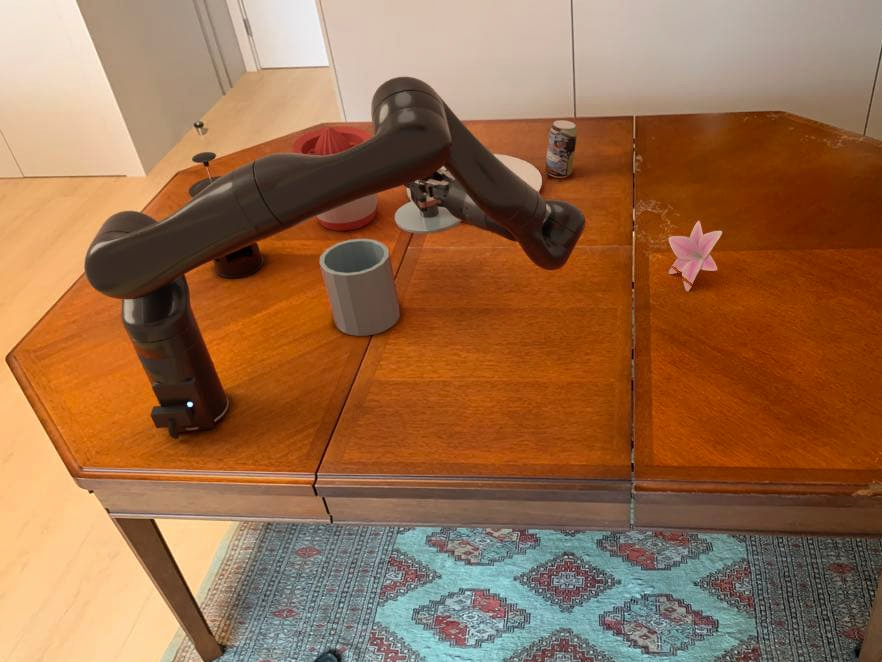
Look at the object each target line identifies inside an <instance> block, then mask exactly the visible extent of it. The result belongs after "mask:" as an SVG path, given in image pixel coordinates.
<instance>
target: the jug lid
mask: <svg viewBox="0 0 882 662" xmlns="http://www.w3.org/2000/svg"><path fill="white" fill-rule="evenodd" d="M429 179H432V180H435V179H434V173H433V174H431V175H429V176H427V177H425V178H422V179H421V180H425V181H428V180H429ZM423 190H425V187H424V186H423ZM425 191H426V190H425ZM427 209H428V210H427V211H426V212H421V211H420V210H419V208H418V207H417V206H416V205H415V203H414V202H413V201H408V202H406V203H405V204H403V205H402V206H400V207H399V208H398V209H397V210H396V211H395V214H394V221H395V224H396V226H397V227H398V228H399V229H401V230H403V231H405V232H408V233H412V234H418V235H420V234H421V235H428V234H437V233H441V232H445V231H447V230H451V229H452V228H454V227H457V226H458V225H459V224H460V223H461V222H462V220H460V219H458V218H456V217H454V216H453V215H452V214H451V213H450V212H449V211H448V210H447V209H446V208H444V207H438V206H436V205H431V206H428V207H427Z"/></svg>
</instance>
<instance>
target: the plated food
mask: <svg viewBox="0 0 882 662" xmlns="http://www.w3.org/2000/svg"><path fill="white" fill-rule="evenodd" d="M492 154H493V155H494V156H495V157H496V158H498V159H499V160H500V161H501V162H502V163H503V164H504V165H505V166H507V167H508V168H509V169H510V170H511V171H513V172H514V173H515V174H516V175H518V176H519V177H520V178H521V179H522V180H524V181H525V182H526V183H527V184H529V185H530V186H531V187H532V188H534V189H535V190H536V191H537V192H539V193H540V191H541V188H542V186H543V177H542V175H541V172H540V171H539V170H538V168H537V167H536V166H535V165H533V164H532V163H529V162H528V161H526V160H524V159H522V158H518V157H514V156H510V155H506V154H500V153H492ZM441 169H443V170H446V168H445V167H444V166H443V167H442V168H441ZM406 194H407V198H408V199H409V202H411V201H412V199H411V192H410V189H409V188H407V187H406Z"/></svg>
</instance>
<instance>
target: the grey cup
mask: <svg viewBox="0 0 882 662" xmlns="http://www.w3.org/2000/svg"><path fill="white" fill-rule="evenodd" d="M392 264H393V263H392V260H391V254H390V249H389V248H388V247H387V246H386V244H384V243H383V242H381V241H378V240H376V239H372V238H354V239H347V240H344V241H340V242H337V243H335V244H334V245H331V246H330V247H328V248H326V249H325V250H324V252H323V253H322V254H321V255H320V257H319V268H320V271H321V274H322V279H323V284H324V287H325V290H326V295H327V299H328V303H329V306H330V311H331V315H332V318H333V322H334V324H335V326H336V328H337V329H338V330H339V331H340V332H342V333H345V334H346V335H349V336H355V337H356V336H357V337H366V336H373V335H376V334H377V335H378V334H380V333H383V332H384V331H386V330H389V329H390V328H391V327H393V326H394V325H395V324H396V323H397V322H398V320H399V319H400V316H401V310H400V309H401V307H400V302H399V297H398V291H397V287H396V285H397V284H396V281H395V275H394V270H393V265H392Z"/></svg>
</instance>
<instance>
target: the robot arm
mask: <svg viewBox="0 0 882 662" xmlns="http://www.w3.org/2000/svg"><path fill="white" fill-rule="evenodd" d="M370 115H371V123H372V128H373V133H374V135H373V137H371V139H369V140H367V141H365V142H363V143H361V144H359V145H357V146H355V147H352V148H350V149H348V150H345V151H343V152H340V153H337V154H332V155H324V156H319V155H307V154H297V153H294V152H275V153H271V154H270V153H269V154H267V155H264V156H261V157H258V158H257V159H254V160H251V161H250V162H247V163H245V164H243V165H240V166H239V167H237V168H234V169H233V170H230V171H229V172H227V173H225V174H223V175H221V176H222V177H220V178H219V179H217V180H216V181H214V182H213V183H211V184H210V185H209V186H207V187H206V188H205V189H203V190H202V191H201V192H200V193H199V194H197V195H196V196H195V197H193V198H192V197H191V199H190V200H188V201H187V202H186V203H185V204H184V205H182V206H181V207H180V208H178V209H177V210H176V211H175V212H174V213H172V214H170V215H168V216H167V217H165V218H164V219H162V220H159V221H158V220H156V219H155V218H153V217H152V216H150V215H149V214H146V213H144V212H141V211H137V210H123V211H122V210H121V211H120V212H116V213H113V214H112V215H111V216H109V217H108V218H107V219H106V220H105V221H104V222H103V224H101V227H100V228H99V229H98V231H97V232H96V235H95V236H94V238H93V239H92V241H91V242H90V245H89V246H88V248H87V250H86V253H85V259H84V264H83V268H84V274H85V277H86V280H87V281H88V283H89V285H90V286H91V287H92V288H93V289H94V290H95V291H97V292H98V293H100V294H101V295H103V296H106V297H109V298H111V299H116V300H121V308H120V319H121V322H122V325H123V327H124V330H125V332H126V334H127V336H128V338H129V340H130V342H131V345H132V347H133V349H134V351H135V353H136V355H137V357H138V360H139V362H140V364H141V366H142V368H143V370H144V372H145V374H146V377H147V378H148V380H149V381H148V382H149V383H150V386H151V390H152V391H153V393H154V395H155V398H156V400H157V402H158V404H159V405H154V406H152V408H151V412H150V414H149V415H150V418H151V420H152V422H153V424H154V426H155V428H156V429H165V428H167V429H168V430H167V431H168V434H169V436H170V437H171V438H172V439H174V440H178V439H180V435H179V434H180V433H188V432H196V431H206V430H212V429H215V425H216V424H217V423H219V422H220V421H221V420H222V419H223V418H224V417H225V416H226V415H227V413H228V412H229V409H230V400H229V397H228V396H227V394H226V392H225V390H224V387H223V385H222V382H221V380H220V377H219V374H218V371H217V369H216V367H215V364H214V361H213V359H212V357H211V354H210V351H209V349H208V345H207V344H206V342H205V339H204V336H203V334H202V331H201V329H200V326H199V324H198V321H197V318H196V316H195V313H194V310H193V308H192V305H191V293H190V287H189V284H188V280H187V277H186V274H188V273H189V272H191V271H193V270H195V269H197V268H199V267H201V266H203V265H205V264H207V263H209V262H213V260H215V259H217V258H220V257H222V256H225V255H227V254H230V253H232V252H235V251H237V250H239V249H241V248H244V247H246V246H248V245H251V244H253V243H255V242H256V243H258V242H260V241H261V242H262V241H263V240H265V239H266V240H267V239H269V238H271V237H273V236H275V235H277V234H280V233H283V232H285V231H287V230H289V229H292V228H294V227H296V226H298V225H300V224H302V223H304V222H306V221H308V220H310V219H313V218H315V217H316V216H318V215H320V214H323V213H325V212H327V211H330V210H332V209H335V208H337V207H340V206H343V205H345V204H347V203H350V202H353V201H355V200H358V199H361V198H363V197H366V196H370V195H373V194H376V193H378V194H379V193H382V192H386V191H389V190H392V189H396V188H398V187H402V186H404V187H405V188H406V189H407V188H409V189H410V192H411V199H412V201H413V202H414V203H415V205H416V206H417V207H418V208H419V210H420V211H421V212H426V211H427V210H428V209H427V207H428V206H431V205H436V206H438V207H444V208H446V209H447V210H448V211H449V212H450V213H451V214H452V215H453V216H454V217H456V218H458V219H460V220H462V221H463V222H465V223H467V224H468V225H471V226H473V227H476V228H478V229H480V230H483V231H486V232H490V233H493V234H495V235H497V236H500V237H502V238H504V239H506V240H507V241H508V240H509V241H511V242H515V243H516V242H517V243H518V244H519V246H520V248H521V250H522V251H523V252H524V254H525V255H526V256H527V258H529V260H530V261H531V262H533V264H535V266H537V267H538V268H541V269H543V270H545V271H557V270H560V269H561V268H563V267H564V266H565V265H566V264H567V262H568V260H569V258H570V257H571V254H572V253H573V251H574V249H575V248H576V246H577V244H578V242H579V239H580V238H581V236H582V235H583V233H584V231H585V228H586V224H587V222H586V221H587V220H586V217H585V215H584V213H583V211H582V210H581V209H580V208H579V207H578V206H576V205H575V204H573V203H571V202H567V201H565V200H561V199H560V200H559V199H545V198H544V196H543V195H542V194H541V193H540V191H539V192H537V191H536V190H535V189H534V188H532V187H531V186H530V185H529V184H527V183H526V182H525V181H524V180H522V179H521V178H520V177H519V176H518V175H516V174H515V173H514V172H513V171H511V170H510V169H509V168H508V167H507V166H505V165H504V164H503V163H502V162H501V161H500V160H499V159H498V158H496V157H495V156H494V155H493V154H494V153H492V152H491V151H490V150H489V149H488V148H487V147H486V146H485V145H484V144H483V143H482V142H481V141H480V140H479V139H478V138H477V137H476V136H475V134H473V133H472V132H471V130H469V128H468V127H467V126H466V125H465V124H464V123H463V122H462V121H461V119H460V118H459V117H458V116H457V115H456V114H455V113H454V111H453V110H452V109H451V108H450V107H449V105H448V104H447V103H446V102H445V100H444V99H443V97H442V96H440V94H439V93H438V92H437V91H436V90H435V89H434V88H433V87H432V86H431V85H429V84H428V83H427V82H425V81H424V80H421V79H420V78H416V77H413V76H397V77H393V78H390V79H388V80H386V81H384V82H383V83H382V84H380V86H379V87H377V89H376V90H375V92H374V94H373V95H372V100H371V108H370ZM443 166H444V167H445V168H446V170H443V169H441V168H442V167H443ZM433 173H434V179H435V180H432V179H429V180H428V181H425V180H421V179H422V178H425V177H427V176H429V175H431V174H433ZM423 186H424V187H425V190H426V191H425V190H423ZM462 221H461V222H462Z"/></svg>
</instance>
